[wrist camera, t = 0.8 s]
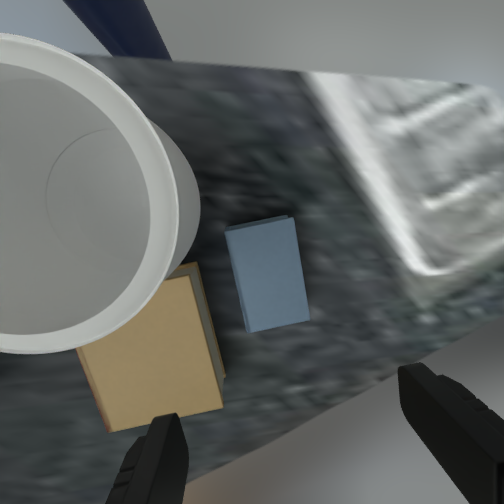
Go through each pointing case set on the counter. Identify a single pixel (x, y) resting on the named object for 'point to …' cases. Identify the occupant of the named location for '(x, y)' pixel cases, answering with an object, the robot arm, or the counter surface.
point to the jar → (81, 201)
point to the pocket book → (268, 272)
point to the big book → (158, 358)
